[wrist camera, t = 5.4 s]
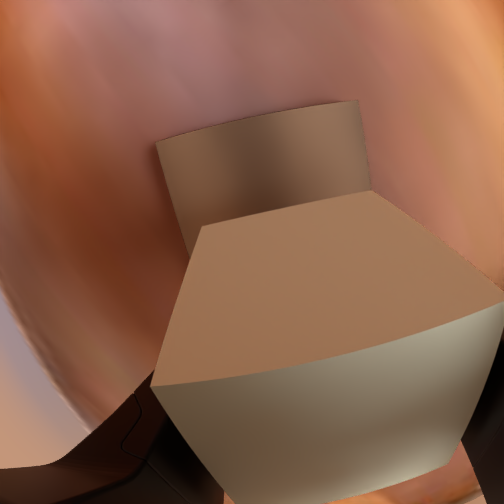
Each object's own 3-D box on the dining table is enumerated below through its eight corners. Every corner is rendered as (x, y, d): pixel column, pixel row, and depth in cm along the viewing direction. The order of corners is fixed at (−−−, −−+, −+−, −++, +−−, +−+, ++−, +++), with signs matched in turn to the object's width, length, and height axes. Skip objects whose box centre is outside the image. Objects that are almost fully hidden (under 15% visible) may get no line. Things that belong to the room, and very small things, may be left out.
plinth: (340, 101, 17) (358, 100, 14) (361, 257, 21) (377, 279, 18) (168, 137, 17) (155, 142, 14) (212, 289, 21) (208, 315, 18)
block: (371, 190, 9) (510, 297, 3) (379, 326, 11) (447, 464, 5) (201, 226, 9) (149, 386, 4) (242, 356, 11) (244, 513, 6)
